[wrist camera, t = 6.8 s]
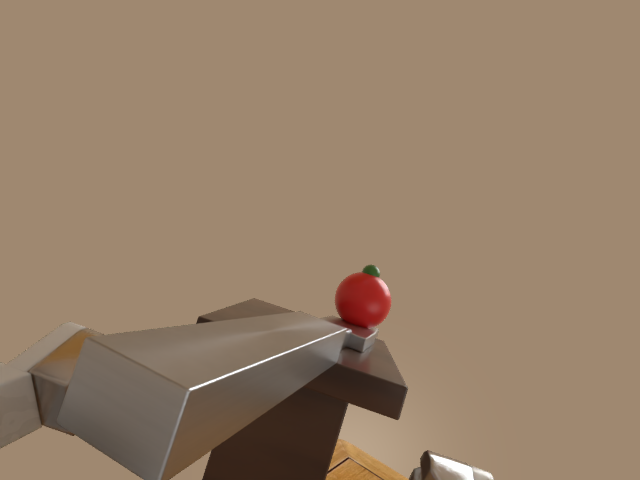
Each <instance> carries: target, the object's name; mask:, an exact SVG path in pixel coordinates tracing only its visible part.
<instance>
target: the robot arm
mask: <svg viewBox="0 0 640 480" xmlns="http://www.w3.org/2000/svg"><path fill="white" fill-rule="evenodd" d="M100 335H104V334H102V333H99V332H96V331H94V330H91V329H89V328H86V327H84V326H81V325H78V324H75V323H73V322H67V323H64V324H62V325H60V326H59V327H57V328H56V329H55V330H53V331H52V332H51V333H49V334H48V335H46V336H45V337H43V338H42V339H41V340H39V341H38V342H36V343H35V344H34V345H33V346H31V347H30V348H28V349H27V350H25V351H24V352H23V353H21V354H20V355H18V356H17V357H16V358H14V359H13V360H11V361H10V362H9V363H7V364H4V363H0V448H2V447H4V446H6V445H8V444H10V443H12V442H14V441H16V440H18V439H20V438H22V437H23V436H25V435H27V434H29V433H31V432H33V431H35V430H37V429H39V428H41V427H42V425H44V426H46V427H49V428H52V429H55V430H58V431H61V432H64V433H66V434H69V435H72V436H74V435H75V434H73V433H71V432H70V431H68V430H67V429H65V428H64V427H62V426H61V425H59V424H58V423H57V418H58V415H59V412H60V410H61V407H62V404H63V401H64V398H65V395H66V392H67V389H68V386H69V383H70V380H71V378H72V375H73V372H74V369H75V366H76V363H77V360H78V357H79V354H80V351H81V349H82V346H83V343H84V340H85V338H86V337H91V336H100ZM420 460H421V462H420V463H421V467H418V468H415V469H414V470H413V472H412V474H411V475H410V478H409V480H494V478H493V476H492V474H491V473H490V472H488V471H485V470H482V469H479V468H476V467H473V466H470V465H468V464H467V463H464V462H461V461H458V460H455V459H452V458H449V457H446V456H443V455H440V454H438V453H435V452H432V451H428V450H427V451H425V452H424V453H423V455H422V456H421V458H420Z"/></svg>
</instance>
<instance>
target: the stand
mask: <svg viewBox="0 0 640 480" xmlns="http://www.w3.org/2000/svg"><path fill="white" fill-rule="evenodd" d="M290 312H294V311H291V310H288V309H285V308H282V307H279V306H276V305H273V304H270V303H266V302H264V301H261V300H258V299H255V298H254V299H251V300H247V301H244V302H241V303H238V304H236V305H232V306H229V307H226V308H224V309H220V310H217V311H214V312H211V313H208V314H205V315H202V316H199V317H198V320H197V323H196V324H199V323H207V322H216V321H224V320H232V319H240V318H249V317H257V316H265V315H273V314H282V313H290ZM407 390H408V387H407V385H406V383H405V381H404V379H403V377H402V376H401V374H400V372H399V370H398V368H397V366H396V364H395V362H394V360H393V358H392V356H391V354H390V352H389V350H388V348H387V346H386V344H385V343H384V341H382V340H378V339H376V338H375V341H374V343H373V344H372V345H371V346H370V347H368V348H367V349H366V350H365V351H363V352H359V351H356V350H354V349H351V348H349V347H345V348H343V349H342V350H341V351H340V354H339V357H338V360H337V363H336V364H334V365H333V366H331V367H330V368H329V369H327V370H326V371H324V372H323V373H321V374H320V375H318V376H317V377H316V378H314V379H313V380H311V381H310V382H308V383H307V384H306V385H304V386H303V387H301V388H300V389H298V390H297V391H296V392H294V393H293V394H291V395H290V396H288V397H287V398H285V399H284V400H283V401H281V402H280V403H278V404H277V405H275V406H274V407H273V408H271V409H270V410H268V411H267V412H265V413H264V414H263V415H261V416H260V417H258V418H257V419H255V420H254V421H252V422H251V423H250V424H248V425H247V426H245V427H244V428H242V429H241V430H240V431H238V432H237V433H235V434H234V435H232V436H231V437H230V438H228V439H227V440H225V441H224V442H222V443H221V444H220V445H218V446H217V447H215V448H214V449H212V451H211V454H210V457H209V460H208V463H207V466H206V469H205V473H204V476H203V479H202V480H325V479H326V476H327V472H328V469H329V466H330V463H331V459H332V456H333V453H334V449H335V446H336V443H337V439H338V436H339V433H340V429H341V426H342V423H343V419H344V416H345V413H346V410H347V406H348V403H350V404H353V405H356V406H359V407H362V408H365V409H367V410H370V411H373V412H376V413H379V414H381V415H384V416H387V417H390V418H393V419H396V420H398V419H399V417H400V413H401V410H402V407H403V404H404V400H405V397H406V394H407Z"/></svg>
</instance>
